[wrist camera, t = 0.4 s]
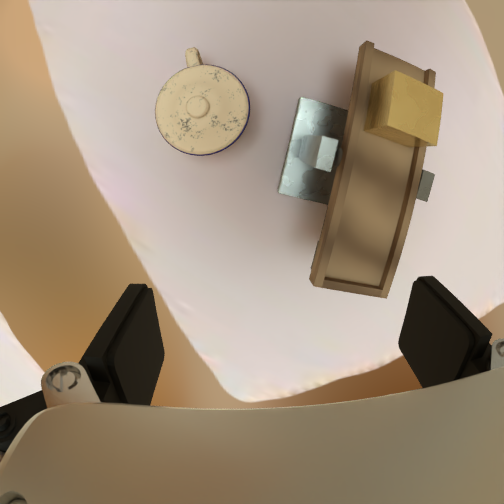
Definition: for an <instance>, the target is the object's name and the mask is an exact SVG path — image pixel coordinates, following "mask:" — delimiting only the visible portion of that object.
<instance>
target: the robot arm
mask: <svg viewBox="0 0 504 504" xmlns="http://www.w3.org/2000/svg"><path fill="white" fill-rule="evenodd" d="M491 336H492V333H491V332H490V331H489V330H488V329H487V328H486V327H485V326H484V325H483V324H482V323H481V322H480V321H479V320H478V319H477V318H476V317H475V316H474V315H473V314H472V313H471V312H470V311H469V310H468V309H467V308H466V307H465V306H464V305H463V304H462V303H461V302H460V301H459V300H458V299H457V298H456V297H455V296H454V295H453V294H452V293H451V292H450V291H449V290H448V289H447V288H446V287H444V286H443V285H442V284H441V283H440V282H439V281H438V280H437V279H436V278H435V277H433V276H422V277H418V278H417V280H416V281H414V283H413V285H412V290H411V294H410V298H409V303H408V307H407V311H406V315H405V319H404V322H403V326H402V330H401V333H400V337H399V342H398V344H399V348H400V350H401V352H402V354H403V355H404V357H405V359H406V360H407V362H408V364H409V365H410V367H411V369H412V370H413V372H414V374H415V375H416V377H417V379H418V380H419V382H420V384H421V386H422V387H423V388H422V389H417V390H412V391H407V392H403V393H397V394H392V395H386V396H381V397H374V398H368V399H361V400H354V401H347V402H339V403H330V404H320V405H310V406H297V407H281V408H259V409H201V408H200V409H199V408H179V407H163V406H150V404H151V400H152V397H153V393H154V390H155V387H156V383H157V380H158V377H159V374H160V370H161V367H162V364H163V361H164V347H163V342H162V337H161V332H160V327H159V322H158V317H157V312H156V306H155V301H154V295H153V290H152V288H148V287H147V285H146V284H129V285H128V287H127V289H126V290H125V291H124V293H123V294H122V296H121V297H120V299H119V300H118V302H117V303H116V305H115V306H114V308H113V310H112V311H111V313H110V314H109V316H108V317H107V319H106V320H105V322H104V323H103V325H102V326H101V328H100V329H99V331H98V332H97V334H96V336H95V337H94V339H93V340H92V342H91V343H90V345H89V347H88V348H87V350H86V352H85V353H84V355H83V356H82V358H81V360H80V362H79V363H74V362H63V363H59V364H56V365H54V366H52V367H51V368H49V369H48V370H47V371H46V372H45V373H44V375H43V377H42V379H41V387H42V390H41V391H39V392H36V393H34V394H31V395H29V396H27V397H24V398H22V399H19V400H17V401H14V402H12V403H9V404H7V405H4V406H2V407H0V504H504V339H498V340H495V341H494V342H493V344H492V346H491V345H490V344H489V341H490V339H491Z"/></svg>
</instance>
